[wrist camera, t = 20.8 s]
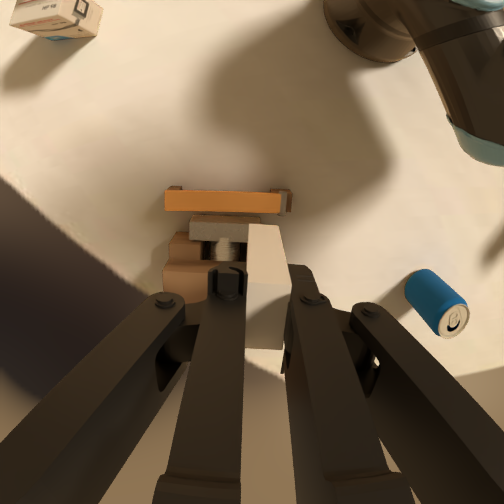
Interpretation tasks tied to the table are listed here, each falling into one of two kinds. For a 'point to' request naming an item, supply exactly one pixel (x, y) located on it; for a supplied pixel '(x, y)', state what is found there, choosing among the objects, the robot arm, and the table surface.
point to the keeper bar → (226, 201)
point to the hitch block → (193, 263)
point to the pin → (221, 234)
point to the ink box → (57, 18)
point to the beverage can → (437, 303)
